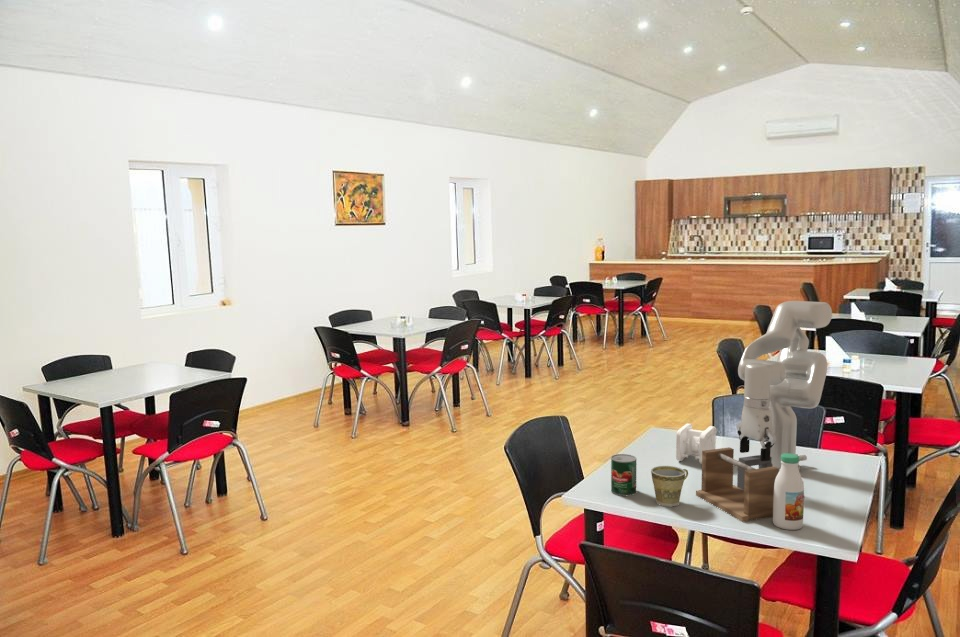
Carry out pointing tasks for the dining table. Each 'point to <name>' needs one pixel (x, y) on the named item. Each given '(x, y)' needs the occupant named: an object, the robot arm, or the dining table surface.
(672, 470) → the ceramic cup
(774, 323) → the robot arm
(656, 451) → the dining table surface
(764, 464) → the grey arch block
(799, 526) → the milk bottle
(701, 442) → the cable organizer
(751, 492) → the wooden rod bracket
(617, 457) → the canned tomato
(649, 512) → the dining table surface
